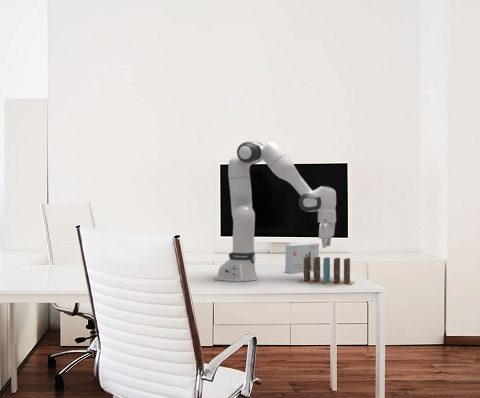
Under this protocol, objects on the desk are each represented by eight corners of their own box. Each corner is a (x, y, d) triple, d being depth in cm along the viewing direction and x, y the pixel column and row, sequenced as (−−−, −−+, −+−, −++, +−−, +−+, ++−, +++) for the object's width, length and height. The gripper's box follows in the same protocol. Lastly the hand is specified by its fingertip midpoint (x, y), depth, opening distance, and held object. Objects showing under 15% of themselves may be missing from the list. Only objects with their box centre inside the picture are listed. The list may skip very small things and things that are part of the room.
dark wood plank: (303, 282, 317) (303, 257, 316) (306, 280, 322) (306, 256, 322) (307, 282, 316) (307, 258, 316) (310, 280, 322) (310, 256, 321)
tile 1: (343, 284, 310) (343, 259, 310) (346, 282, 316) (346, 258, 315) (348, 284, 309) (348, 259, 309) (350, 282, 315) (350, 258, 315)
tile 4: (313, 282, 315) (313, 258, 315) (316, 280, 321) (316, 256, 320) (317, 282, 314) (317, 258, 314) (320, 280, 320) (320, 257, 320)
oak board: (296, 284, 315) (296, 282, 315) (302, 280, 326) (302, 279, 326) (351, 287, 306) (351, 285, 306) (355, 283, 317) (355, 281, 317)
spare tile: (329, 281, 318) (329, 257, 318) (327, 283, 313) (327, 258, 312) (325, 281, 319) (325, 257, 319) (323, 283, 313) (323, 258, 313)
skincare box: (291, 274, 351) (291, 245, 351) (284, 272, 356) (284, 244, 355) (319, 270, 364) (319, 243, 363) (312, 269, 368) (312, 242, 368)
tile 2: (333, 283, 312) (333, 259, 311) (335, 281, 317) (336, 257, 317) (337, 283, 311) (337, 259, 311) (340, 281, 317) (340, 257, 316)
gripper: (328, 220, 304) (328, 249, 305) (337, 218, 324) (336, 245, 324) (315, 219, 306) (315, 248, 307) (324, 217, 326) (324, 244, 326)
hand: (326, 246), depth 315 cm, fingers open, 8 cm apart
